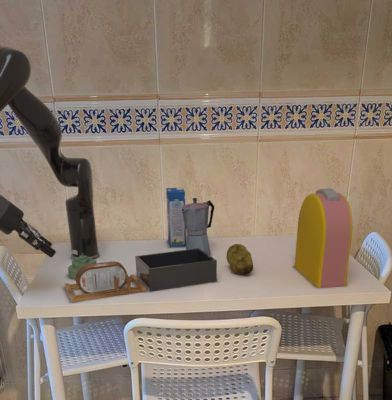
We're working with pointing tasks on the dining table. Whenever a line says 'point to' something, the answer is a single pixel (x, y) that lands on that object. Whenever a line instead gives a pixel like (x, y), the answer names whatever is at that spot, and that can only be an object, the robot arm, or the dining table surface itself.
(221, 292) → the dining table surface
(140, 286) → the dish rack
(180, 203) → the milk carton
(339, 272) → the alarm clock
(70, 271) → the decorative artifact
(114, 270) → the tin
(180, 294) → the dining table surface
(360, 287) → the dining table surface
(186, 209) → the moka pot
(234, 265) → the olive green oval lump
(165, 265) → the dark grey open box
